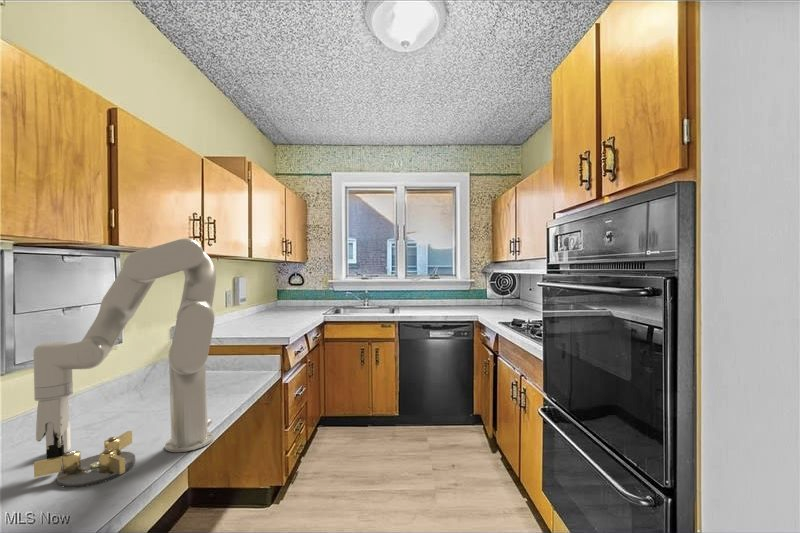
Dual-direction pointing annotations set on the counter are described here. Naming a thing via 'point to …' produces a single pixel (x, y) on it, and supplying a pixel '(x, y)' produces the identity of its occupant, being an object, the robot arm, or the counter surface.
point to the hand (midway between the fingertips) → (55, 462)
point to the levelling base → (92, 472)
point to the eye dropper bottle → (67, 439)
